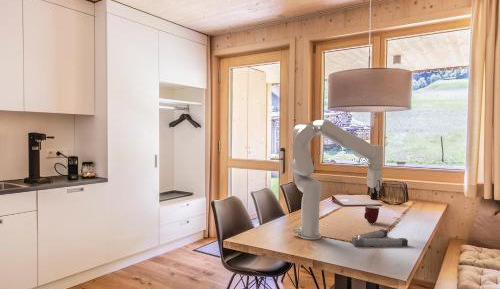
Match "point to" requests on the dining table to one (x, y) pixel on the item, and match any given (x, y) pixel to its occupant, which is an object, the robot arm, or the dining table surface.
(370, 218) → the mug
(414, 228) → the dining table surface
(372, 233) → the tongs leg
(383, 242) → the base
